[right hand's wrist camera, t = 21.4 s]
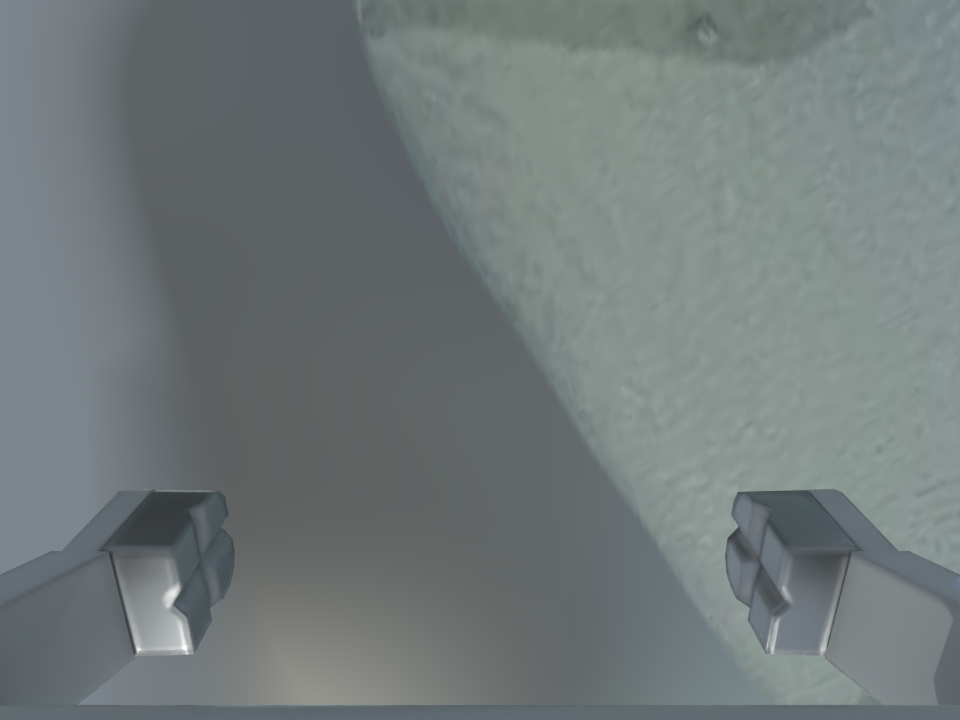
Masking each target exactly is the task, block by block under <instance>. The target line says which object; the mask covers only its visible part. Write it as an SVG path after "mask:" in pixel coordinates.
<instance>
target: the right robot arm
mask: <svg viewBox="0 0 960 720" xmlns="http://www.w3.org/2000/svg"><path fill="white" fill-rule="evenodd" d="M731 515H732V516H733V518H734V520H735V521H736V523H737V525H738V526H739V527H738V528H737V529H736V530H735V531H734V532H733V533H732V534H731V535H730V536H729V537H728V538H727V546H726V554H725V560H726V571H727V576H728V580H729V583H730V586H731V589H732V591H733V593H734V595H735V597H736V599H738V600H739V601H741V602H742V603H744V604H745V605H747V606H748V607H750V611H749V617H748V621H749V623H750V625H751V627H752V629H753V631H754V633H755V634H756V636H757V638H758V640H759V642H760V644H761V646H762V647H763V649H764V651H765V653H766V654H777V655H814V656H825V659H826V660H827V661H829V662H830V663H831V664H832V665H834V666H835V667H836V668H837V669H839V670H840V671H841V672H842V673H844V674H845V675H846V676H847V677H849V678H850V679H851V680H852V681H854V682H855V683H856V684H857V685H859V686H860V687H861V688H862V689H864V690H865V691H866V692H867V693H869V694H870V695H871V696H872V697H873V698H875V699H876V700H877V701H878V702H880V703H881V704H882V705H78V704H79V703H80V702H82V701H83V700H84V699H85V698H87V697H88V696H89V695H90V694H92V693H93V692H94V691H95V690H97V689H98V688H99V687H100V686H102V685H103V684H104V683H105V682H107V681H108V680H109V679H110V678H112V677H113V676H114V675H115V674H117V673H118V672H119V671H120V670H122V669H123V668H124V667H125V666H127V665H128V664H129V663H130V662H132V661H133V660H134V659H135V656H146V655H181V654H194V653H195V651H196V649H197V647H198V646H199V644H200V642H201V640H202V638H203V636H204V634H205V633H206V631H207V629H208V627H209V625H210V623H211V621H212V617H211V611H210V607H212V606H213V605H215V604H216V603H218V602H219V601H221V600H222V599H224V596H225V594H226V592H227V590H228V588H229V586H230V584H231V579H232V575H233V570H234V545H233V539H232V537H231V536H230V535H229V534H228V533H227V532H226V531H225V530H224V529H223V528H222V527H221V526H222V525H223V523H224V521H225V520H226V518H227V516H228V509H227V504H226V500H225V496H224V495H223V494H222V493H221V492H220V491H202V490H154V489H136V490H124V491H119V492H118V493H117V494H116V495H115V496H114V497H113V498H112V499H111V500H110V501H109V502H108V503H107V504H106V505H105V506H104V507H103V508H102V510H101V511H100V512H99V513H98V514H97V515H96V516H95V517H94V518H93V519H92V520H91V521H90V522H89V523H88V524H87V525H86V526H85V527H84V528H83V529H82V530H81V531H80V532H79V533H78V534H77V535H76V537H75V538H74V539H73V540H72V541H71V542H70V543H69V544H68V545H67V546H66V547H65V548H64V549H63V550H62V551H50V552H48V553H46V554H44V555H42V556H39V557H37V558H35V559H33V560H31V561H29V562H27V563H24V564H22V565H20V566H18V567H16V568H14V569H11V570H9V571H7V572H5V573H3V574H1V575H0V720H960V575H959V574H957V573H955V572H953V571H951V570H949V569H946V568H944V567H942V566H940V565H938V564H936V563H933V562H931V561H929V560H927V559H925V558H923V557H920V556H918V555H916V554H914V553H912V552H910V551H898V550H897V549H896V548H895V547H894V546H893V545H892V544H891V543H890V542H889V541H888V540H887V539H886V538H885V536H884V535H883V534H882V533H881V532H880V531H879V530H878V529H877V528H876V527H875V526H874V525H873V524H872V523H871V522H870V521H869V520H868V519H867V518H866V517H865V516H864V515H863V514H862V512H861V511H860V510H859V509H858V508H857V507H856V506H855V505H854V504H853V503H852V502H851V501H850V500H849V499H848V498H847V497H846V496H845V495H844V494H843V493H842V492H840V491H838V490H835V489H819V490H796V491H757V492H738V493H737V495H736V497H735V500H734V503H733V509H732V514H731Z"/></svg>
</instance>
